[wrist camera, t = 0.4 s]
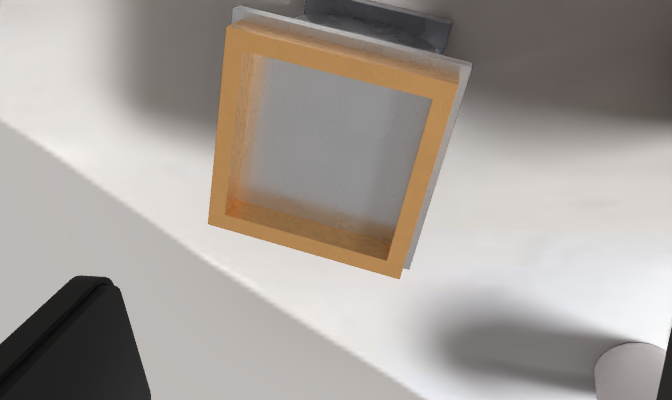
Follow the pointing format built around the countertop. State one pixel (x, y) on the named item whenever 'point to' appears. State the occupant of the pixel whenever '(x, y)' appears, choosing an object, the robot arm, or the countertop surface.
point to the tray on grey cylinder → (334, 129)
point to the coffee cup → (629, 372)
